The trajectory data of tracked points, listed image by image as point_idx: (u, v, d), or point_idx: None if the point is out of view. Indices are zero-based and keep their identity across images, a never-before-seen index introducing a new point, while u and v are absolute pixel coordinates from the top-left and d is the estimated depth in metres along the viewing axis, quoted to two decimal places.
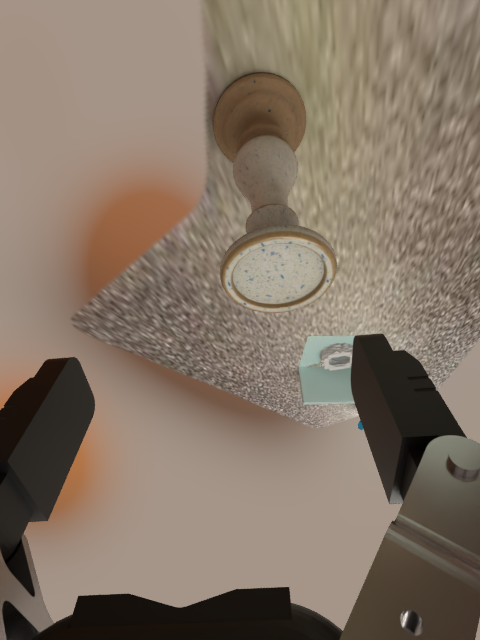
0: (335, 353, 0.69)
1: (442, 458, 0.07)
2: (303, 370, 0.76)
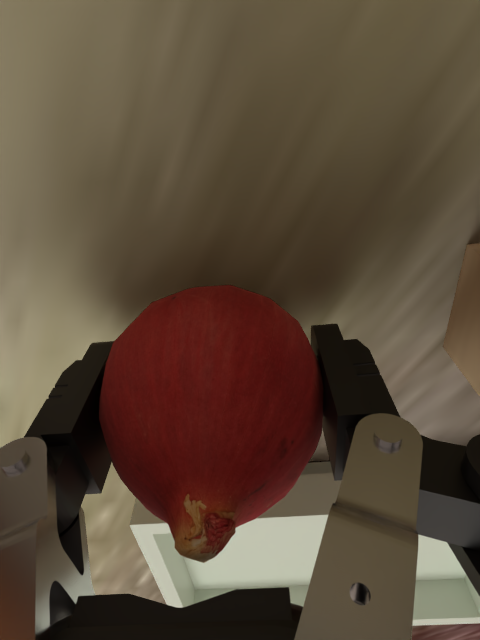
0: None
1: (369, 433, 0.07)
2: None
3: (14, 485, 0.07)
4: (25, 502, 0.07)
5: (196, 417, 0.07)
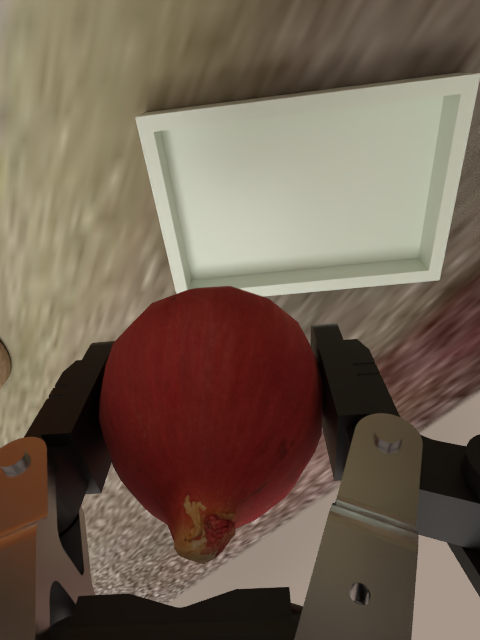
0: None
1: (369, 433, 0.07)
2: None
3: (14, 485, 0.07)
4: (25, 502, 0.07)
5: (195, 418, 0.07)
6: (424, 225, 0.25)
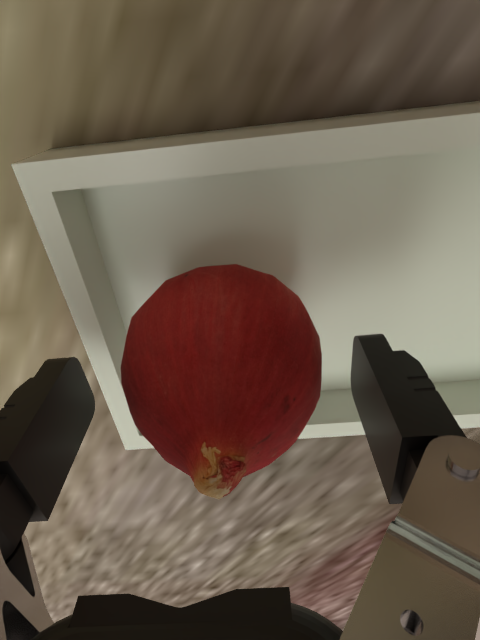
0: None
1: (442, 458, 0.07)
2: None
3: None
4: None
5: (209, 376, 0.08)
6: None
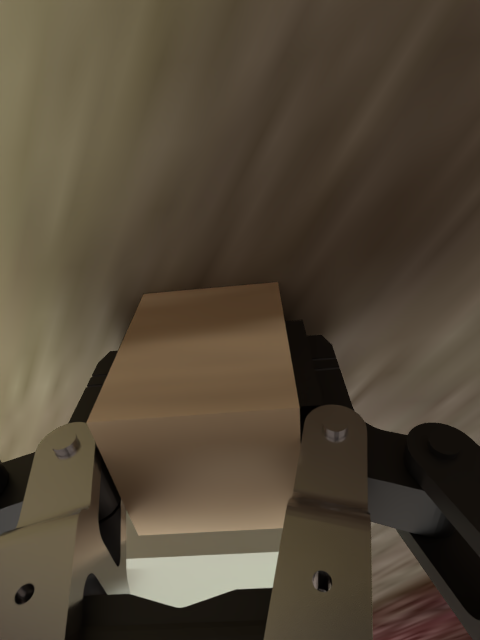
0: None
1: (317, 423, 0.08)
2: None
3: (62, 469, 0.07)
4: (81, 483, 0.07)
5: None
6: None
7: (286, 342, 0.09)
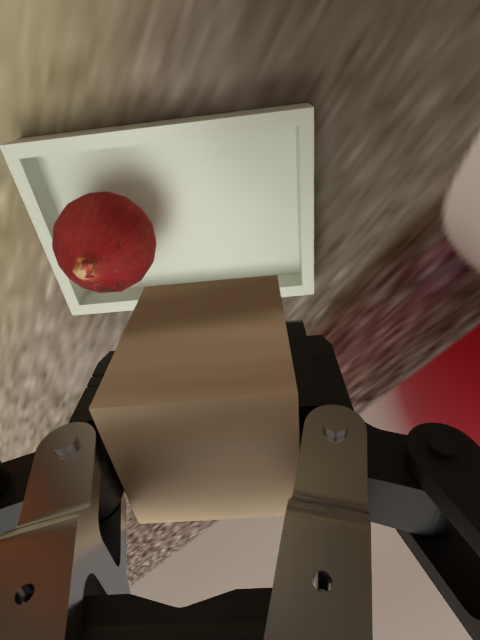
0: None
1: (317, 423, 0.08)
2: None
3: (63, 469, 0.07)
4: (81, 483, 0.07)
5: (82, 230, 0.20)
6: (298, 242, 0.26)
7: (285, 332, 0.09)
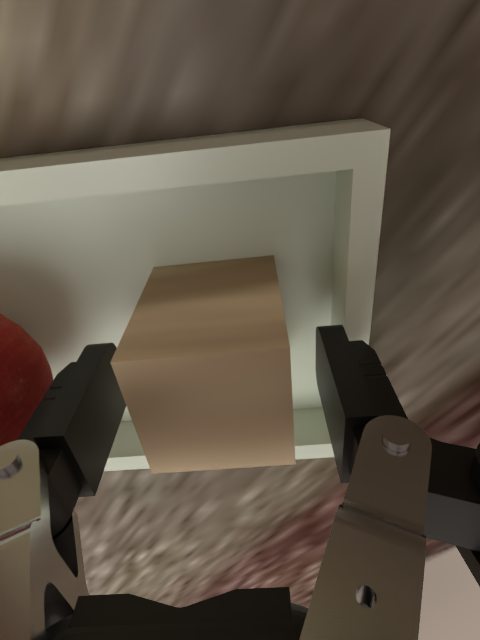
0: None
1: (377, 435, 0.07)
2: None
3: (5, 489, 0.07)
4: (16, 506, 0.07)
5: None
6: None
7: (280, 301, 0.10)
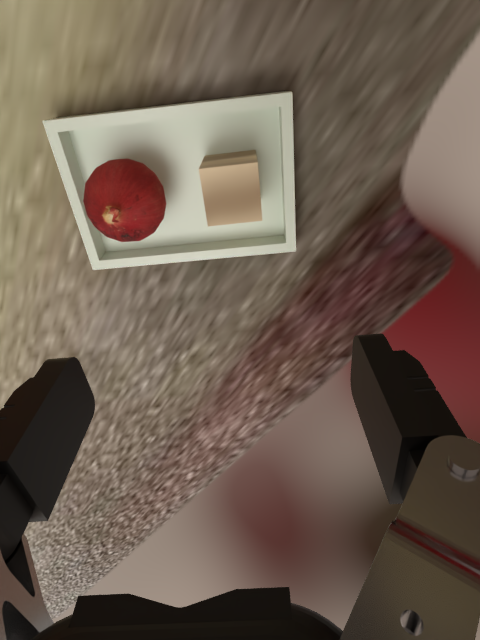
0: None
1: (442, 458, 0.07)
2: None
3: None
4: None
5: (109, 184, 0.25)
6: (283, 208, 0.32)
7: (256, 156, 0.27)
